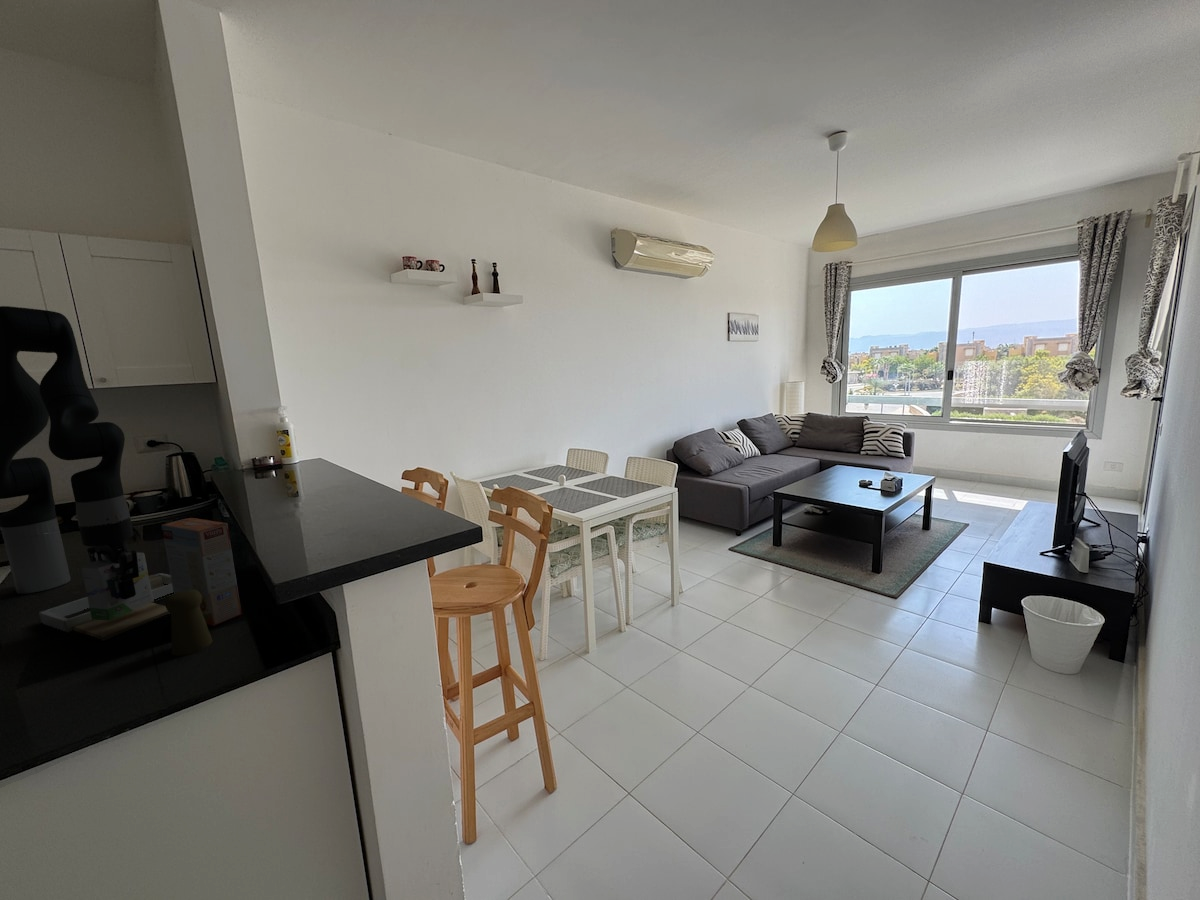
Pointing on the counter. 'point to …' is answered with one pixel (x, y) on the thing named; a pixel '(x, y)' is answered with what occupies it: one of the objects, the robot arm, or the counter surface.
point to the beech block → (155, 581)
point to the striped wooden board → (121, 621)
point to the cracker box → (203, 566)
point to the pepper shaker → (187, 623)
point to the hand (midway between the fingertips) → (120, 595)
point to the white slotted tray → (57, 614)
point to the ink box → (114, 590)
